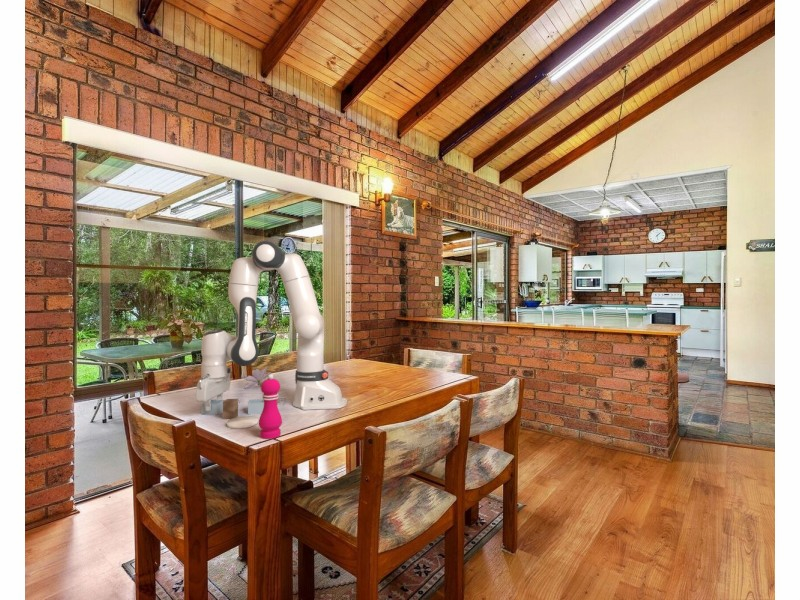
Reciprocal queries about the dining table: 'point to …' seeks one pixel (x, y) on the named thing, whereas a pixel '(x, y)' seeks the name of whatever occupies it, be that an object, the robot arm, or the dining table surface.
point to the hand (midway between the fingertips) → (213, 407)
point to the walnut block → (230, 408)
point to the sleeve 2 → (255, 406)
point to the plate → (242, 422)
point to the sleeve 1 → (213, 407)
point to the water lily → (257, 377)
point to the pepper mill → (270, 409)
